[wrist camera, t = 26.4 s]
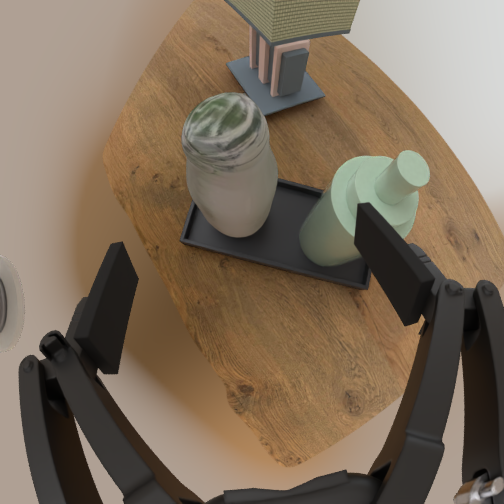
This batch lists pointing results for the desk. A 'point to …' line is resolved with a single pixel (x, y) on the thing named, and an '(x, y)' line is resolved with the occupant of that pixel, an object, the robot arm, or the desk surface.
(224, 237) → the tray
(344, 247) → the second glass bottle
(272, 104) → the woven storage basket
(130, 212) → the desk surface
